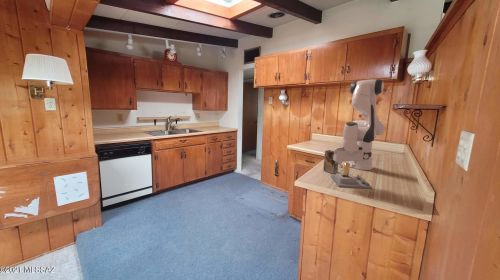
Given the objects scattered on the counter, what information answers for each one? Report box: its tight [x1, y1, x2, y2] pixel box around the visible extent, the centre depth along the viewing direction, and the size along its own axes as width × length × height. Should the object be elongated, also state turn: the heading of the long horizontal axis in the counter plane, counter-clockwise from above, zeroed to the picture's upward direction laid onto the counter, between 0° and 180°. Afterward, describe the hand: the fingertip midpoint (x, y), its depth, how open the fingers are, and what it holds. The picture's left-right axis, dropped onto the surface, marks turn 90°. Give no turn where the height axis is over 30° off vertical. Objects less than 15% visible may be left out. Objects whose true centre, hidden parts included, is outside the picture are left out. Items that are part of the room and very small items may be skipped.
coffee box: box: [323, 149, 339, 175], centre depth 160 cm, size 9×6×16 cm
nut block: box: [330, 172, 373, 190], centre depth 140 cm, size 18×20×4 cm
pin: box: [342, 162, 351, 177], centre depth 139 cm, size 3×3×12 cm
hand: (347, 167), depth 139 cm, fingers open, 8 cm apart
